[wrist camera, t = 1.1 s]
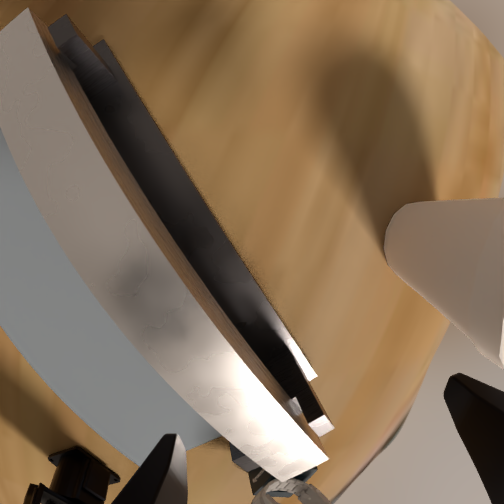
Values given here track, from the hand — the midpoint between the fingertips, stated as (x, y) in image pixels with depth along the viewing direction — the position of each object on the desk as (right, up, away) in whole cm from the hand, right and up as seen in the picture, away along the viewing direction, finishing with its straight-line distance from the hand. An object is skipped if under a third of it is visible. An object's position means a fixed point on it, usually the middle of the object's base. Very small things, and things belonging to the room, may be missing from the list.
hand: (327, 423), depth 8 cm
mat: (-17, 0, +11) cm, 20 cm away
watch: (0, -17, +18) cm, 24 cm away
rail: (-7, +4, +6) cm, 10 cm away
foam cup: (+11, +6, +15) cm, 19 cm away
